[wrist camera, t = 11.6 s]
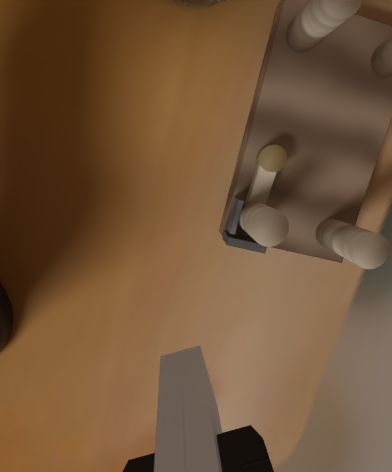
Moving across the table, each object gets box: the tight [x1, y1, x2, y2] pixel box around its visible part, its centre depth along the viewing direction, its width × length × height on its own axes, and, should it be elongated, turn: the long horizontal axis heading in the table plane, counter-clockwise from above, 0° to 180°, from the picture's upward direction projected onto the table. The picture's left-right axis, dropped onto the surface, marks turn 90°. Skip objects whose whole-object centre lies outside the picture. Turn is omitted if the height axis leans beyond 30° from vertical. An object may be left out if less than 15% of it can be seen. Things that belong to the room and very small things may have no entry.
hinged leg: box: [238, 145, 289, 247], centre depth 30 cm, size 9×3×8 cm, turn 163°
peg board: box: [219, 0, 392, 269], centre depth 31 cm, size 24×14×11 cm, turn 166°
